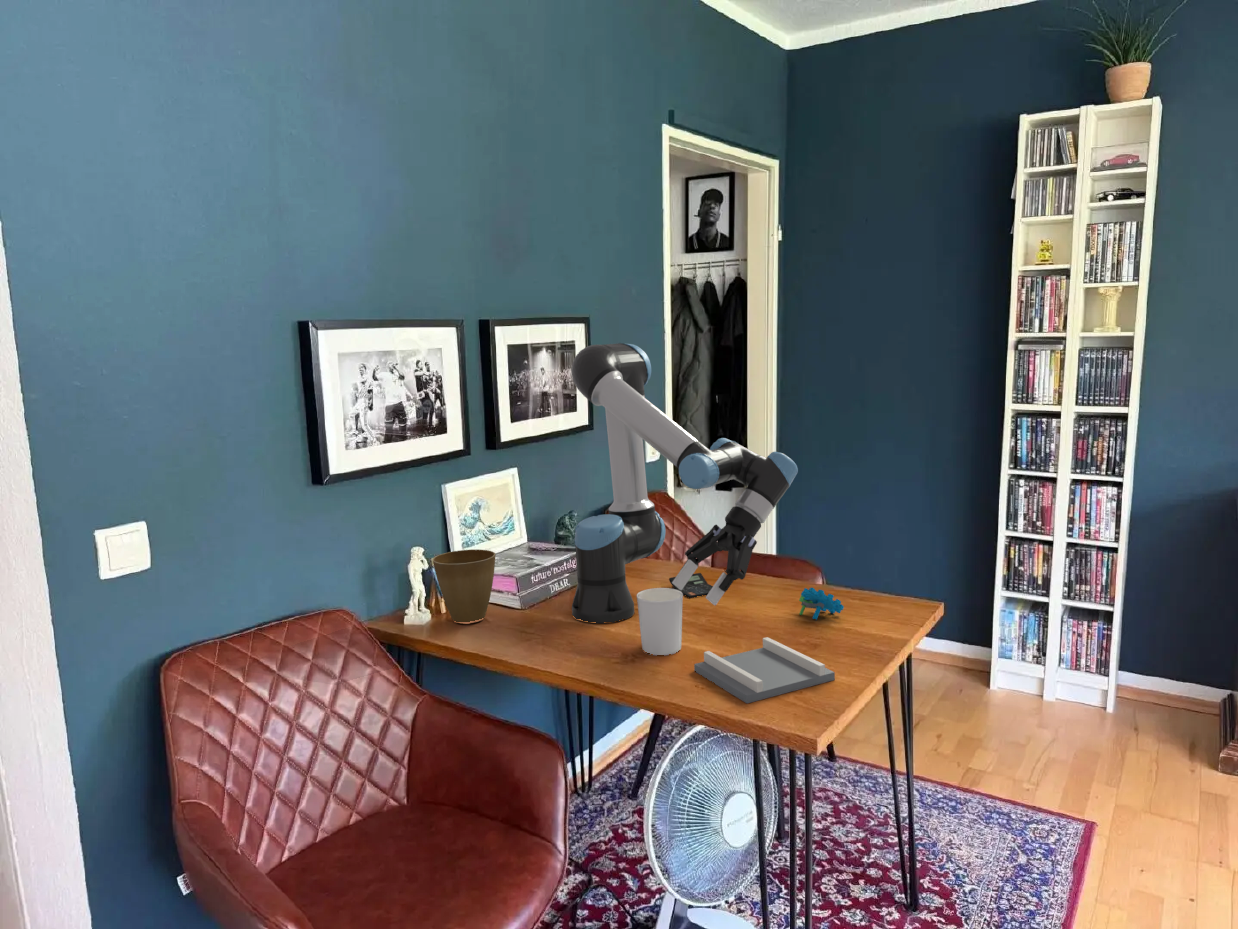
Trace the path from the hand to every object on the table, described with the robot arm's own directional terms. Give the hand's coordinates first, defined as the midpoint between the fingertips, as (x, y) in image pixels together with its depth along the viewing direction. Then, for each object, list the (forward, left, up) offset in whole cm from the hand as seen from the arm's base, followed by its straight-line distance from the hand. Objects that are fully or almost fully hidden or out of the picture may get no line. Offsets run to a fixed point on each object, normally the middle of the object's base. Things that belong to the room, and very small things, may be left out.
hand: (692, 594), depth 184 cm
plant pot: (-58, 0, -11) cm, 59 cm away
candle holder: (-6, -5, -11) cm, 14 cm away
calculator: (-13, +38, -12) cm, 42 cm away
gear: (+22, +26, -11) cm, 36 cm away
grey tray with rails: (+18, -13, -11) cm, 25 cm away
